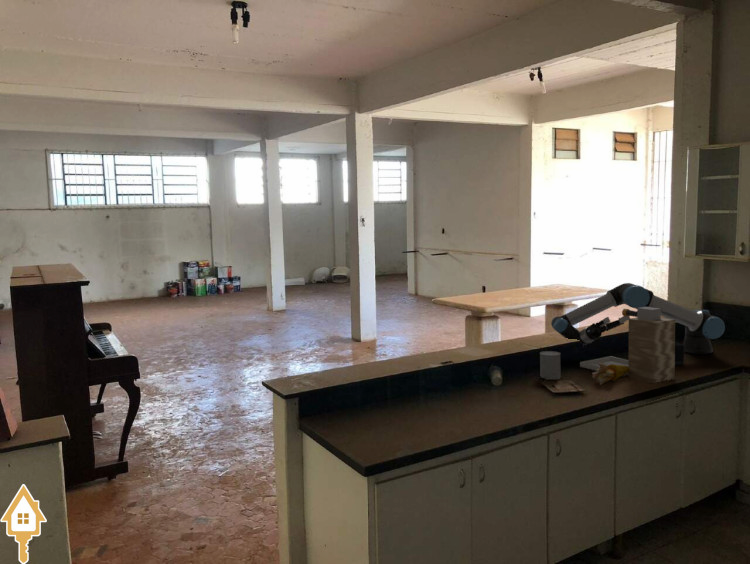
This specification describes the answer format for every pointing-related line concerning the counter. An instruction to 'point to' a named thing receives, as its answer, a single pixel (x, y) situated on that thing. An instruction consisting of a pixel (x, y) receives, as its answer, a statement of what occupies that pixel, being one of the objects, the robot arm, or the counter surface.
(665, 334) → the stand
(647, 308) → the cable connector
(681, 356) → the small box
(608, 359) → the tray
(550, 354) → the grey cylinder
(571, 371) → the counter surface
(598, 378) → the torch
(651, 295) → the robot arm
